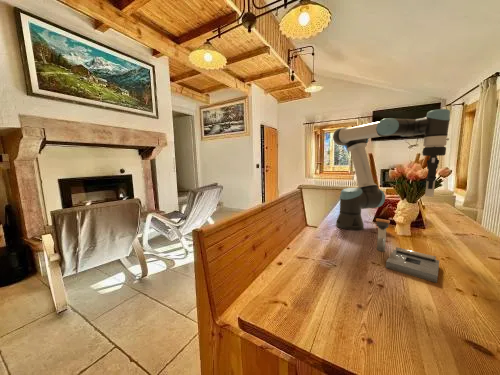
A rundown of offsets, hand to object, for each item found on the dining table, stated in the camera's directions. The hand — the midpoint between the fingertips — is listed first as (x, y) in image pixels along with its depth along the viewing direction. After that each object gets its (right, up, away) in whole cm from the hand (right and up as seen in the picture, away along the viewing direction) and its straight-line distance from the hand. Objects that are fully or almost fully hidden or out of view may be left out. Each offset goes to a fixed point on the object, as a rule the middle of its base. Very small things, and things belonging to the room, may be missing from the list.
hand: (429, 194), depth 91 cm
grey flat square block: (-21, -27, -16) cm, 38 cm away
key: (-23, -25, -2) cm, 34 cm away
